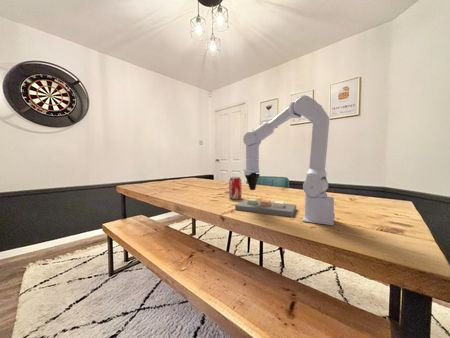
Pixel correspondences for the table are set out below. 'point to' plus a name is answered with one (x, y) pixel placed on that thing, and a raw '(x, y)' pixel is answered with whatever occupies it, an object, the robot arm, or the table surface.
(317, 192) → the robot arm
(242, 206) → the key board
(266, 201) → the terracotta key
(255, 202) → the sage key
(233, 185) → the soda can
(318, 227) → the table surface
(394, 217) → the table surface
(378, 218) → the table surface
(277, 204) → the cream key
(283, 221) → the table surface
